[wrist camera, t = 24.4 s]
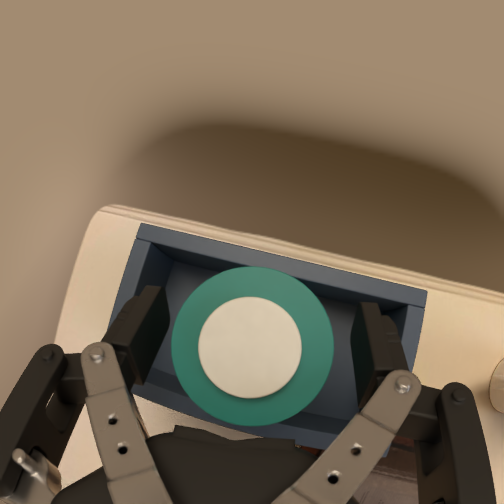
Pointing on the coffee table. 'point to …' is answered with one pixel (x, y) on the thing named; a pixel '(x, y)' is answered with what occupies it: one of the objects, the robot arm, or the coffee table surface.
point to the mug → (498, 388)
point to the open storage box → (311, 275)
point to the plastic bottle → (252, 346)
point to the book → (388, 476)
